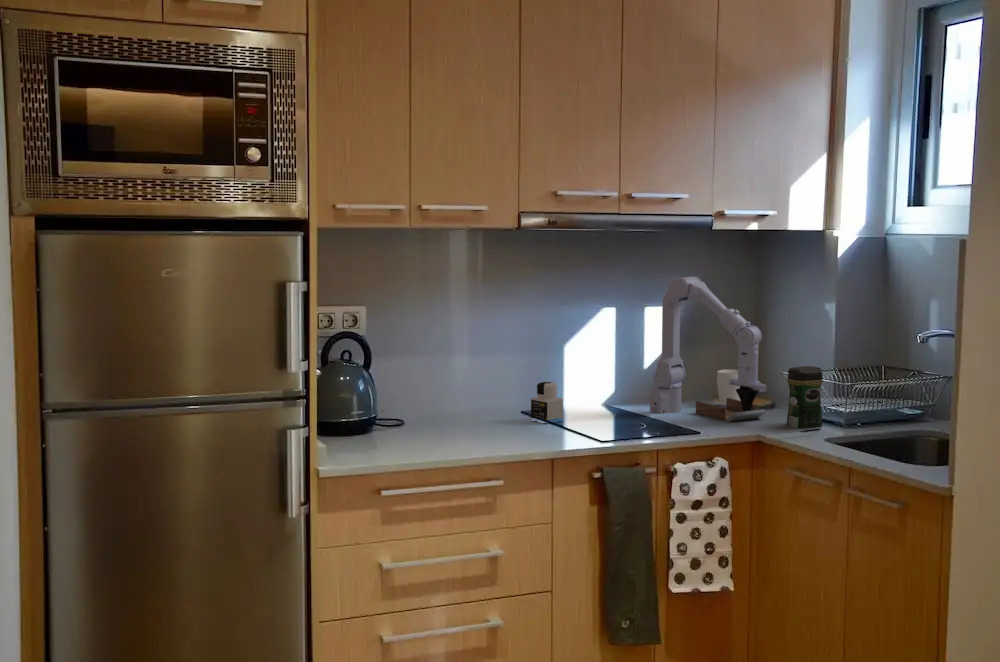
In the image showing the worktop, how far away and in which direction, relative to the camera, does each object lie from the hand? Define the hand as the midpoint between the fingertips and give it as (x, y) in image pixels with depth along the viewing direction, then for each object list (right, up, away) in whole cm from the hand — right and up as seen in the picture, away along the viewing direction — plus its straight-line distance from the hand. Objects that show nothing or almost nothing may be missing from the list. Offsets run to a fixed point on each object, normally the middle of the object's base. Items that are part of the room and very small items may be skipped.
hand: (746, 412), depth 292 cm
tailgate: (-1, -2, +3) cm, 4 cm away
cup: (+2, -1, +27) cm, 27 cm away
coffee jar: (+15, -5, -7) cm, 17 cm away
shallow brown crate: (-4, -3, +9) cm, 11 cm away
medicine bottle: (-59, -4, +9) cm, 60 cm away
